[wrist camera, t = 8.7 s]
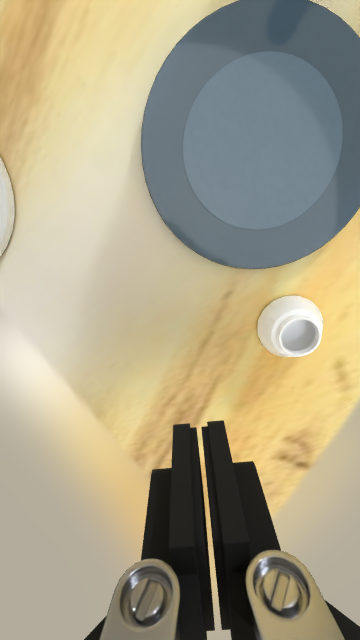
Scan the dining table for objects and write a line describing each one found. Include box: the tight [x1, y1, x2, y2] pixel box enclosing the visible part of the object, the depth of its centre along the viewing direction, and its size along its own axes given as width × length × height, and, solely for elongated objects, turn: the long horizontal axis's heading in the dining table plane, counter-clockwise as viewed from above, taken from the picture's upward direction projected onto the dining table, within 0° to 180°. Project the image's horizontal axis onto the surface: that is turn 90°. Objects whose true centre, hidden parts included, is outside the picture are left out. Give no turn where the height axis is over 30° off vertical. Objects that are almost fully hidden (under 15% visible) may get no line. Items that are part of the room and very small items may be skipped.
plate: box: [141, 0, 360, 269], centre depth 20 cm, size 16×16×1 cm
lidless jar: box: [257, 296, 323, 357], centre depth 23 cm, size 5×3×5 cm
